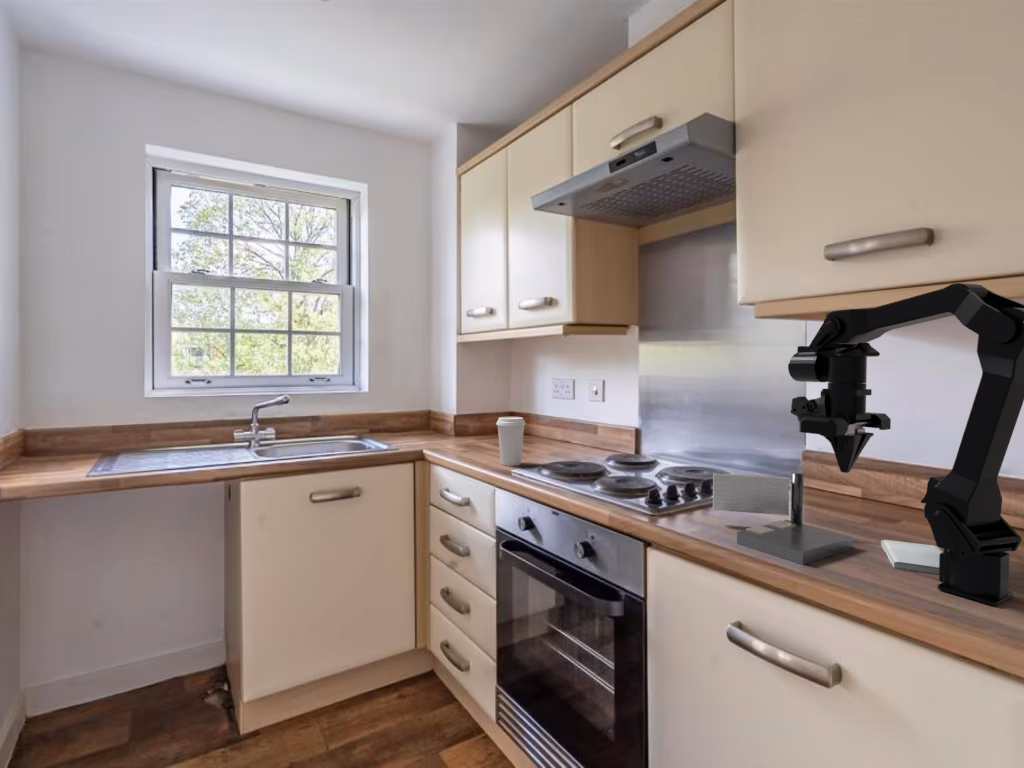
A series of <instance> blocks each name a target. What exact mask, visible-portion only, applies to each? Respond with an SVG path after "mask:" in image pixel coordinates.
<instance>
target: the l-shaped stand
mask: <svg viewBox="0 0 1024 768" xmlns="http://www.w3.org/2000/svg"><path fill="white" fill-rule="evenodd" d="M790 480H791V483H790V485H791V486H790V495H791V496H790V520H789V519H785V520H783V519H781V520H776V521H772V522H769V523H767V524H765V525H757V526H751V527H748V528H745V529H743V530H740V531H737V532H736V544H738V545H742V546H744V547H748V548H751V549H754V550H757V551H759V552H763V553H766V554H769V555H772V556H776V557H779V558H781V559H784V560H787V561H790V562H794V563H797V564H799V565H802V566H803V565H805V564H809V563H812V562H815V561H818V560H821V559H825V558H827V557H829V556H833V555H836V554H839V553H843V552H845V551H846V552H847V551H849V550H852V549H853V548H854V545H853V544H854V536H852V535H848V534H845V533H844V534H843V533H840V532H835V531H832V530H828V529H825V528H821V527H817V526H813V525H809V524H806V523H803V521H804V519H803V516H804V514H803V513H804V509H803V507H804V473H802V472H796V471H795V472H791V479H790Z"/></svg>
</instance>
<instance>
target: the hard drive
mask: <svg viewBox="0 0 1024 768" xmlns="http://www.w3.org/2000/svg"><path fill="white" fill-rule="evenodd" d="M880 545H881V547H882V549H883V551H884V552H886V553H885V555H886V554H887V555H886V556H888V557H887V558H888V560H889V562H890V564H891V563H892V564H891V566H892V565H893V566H892V567H894V568H893V569H897V568H900V569H899V570H904V569H905V570H906V571H911V570H912V571H913V572H918V571H919V572H920V573H925V572H926V573H925V574H934V575H939V557H940V553H942V552H943V551H942V548H940V547H938V546H937V545H931V544H922V543H915V542H907V541H899V540H892V539H891V540H890V539H881V541H880ZM919 572H918V573H919Z"/></svg>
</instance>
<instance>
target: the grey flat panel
mask: <svg viewBox="0 0 1024 768" xmlns="http://www.w3.org/2000/svg"><path fill="white" fill-rule="evenodd" d="M712 510H713V511H720V512H722V511H723V512H734V513H735V512H736V513H746V514H747V513H749V514H750V513H751V514H761V515H762V514H764V515H775V516H777V515H779V516H789V515H790V514H789V513H790V512H789V510H790V478H789V477H787V476H774V475H773V476H772V475H754V474H753V475H752V474H734V473H718V472H717V473H716V472H714V473H712Z"/></svg>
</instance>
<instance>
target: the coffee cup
mask: <svg viewBox="0 0 1024 768" xmlns="http://www.w3.org/2000/svg"><path fill="white" fill-rule="evenodd" d="M495 425H496V426H497V432H498V433H497V435H498V445H499V446H498V448H499V457H500V465H501V466H506V467H507V466H509V467H516V466H521V465H522V454H523V442H524V432H525V426H526V425H527V424H526V421H525V420H524V417H521V416H500V417H498V419H497V421H496V423H495Z"/></svg>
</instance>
